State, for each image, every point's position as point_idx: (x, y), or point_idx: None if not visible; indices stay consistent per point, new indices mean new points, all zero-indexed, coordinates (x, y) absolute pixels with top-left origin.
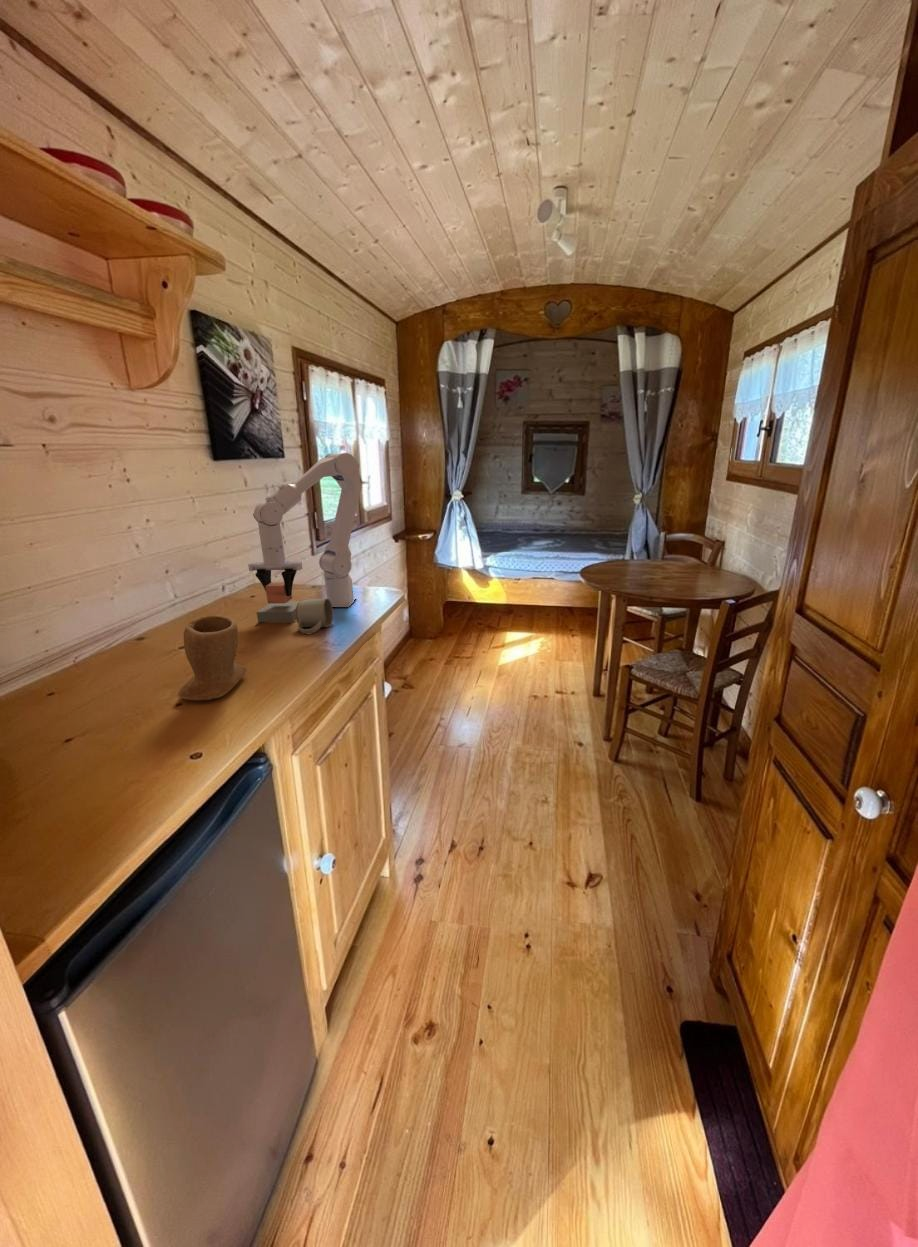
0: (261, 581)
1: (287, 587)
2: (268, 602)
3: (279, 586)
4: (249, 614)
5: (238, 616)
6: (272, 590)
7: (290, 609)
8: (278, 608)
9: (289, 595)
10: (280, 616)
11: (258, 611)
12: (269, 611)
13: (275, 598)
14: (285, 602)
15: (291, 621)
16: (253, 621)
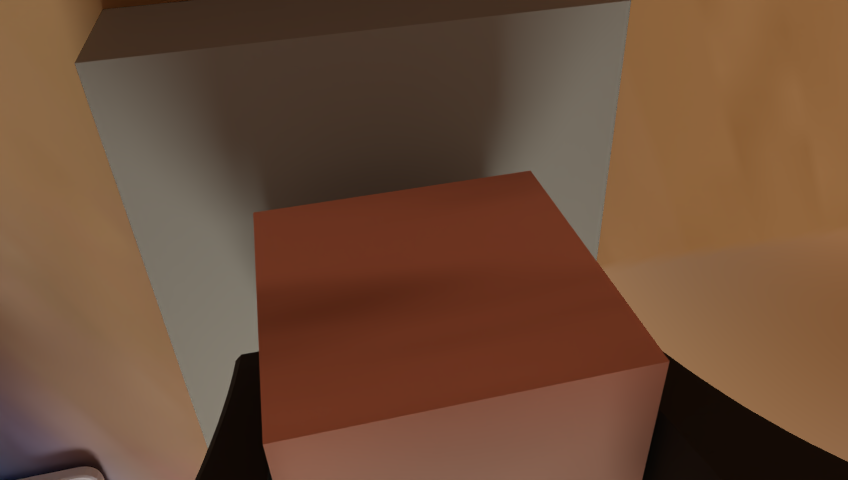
0: (799, 455)
1: (220, 467)
2: (524, 179)
3: (344, 416)
4: (737, 210)
5: (826, 145)
6: (491, 319)
7: (177, 166)
8: (387, 185)
9: (236, 370)
10: (273, 16)
11: (613, 34)
12: (453, 48)
13: (418, 232)
14: (256, 228)
15: (122, 11)
16: (639, 7)
